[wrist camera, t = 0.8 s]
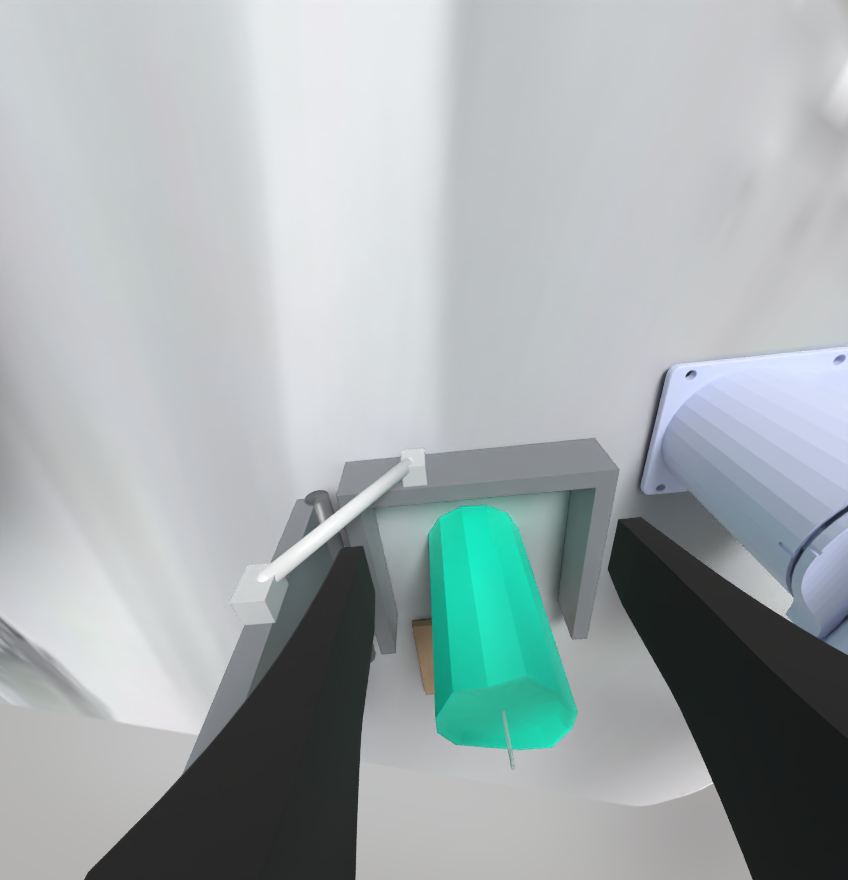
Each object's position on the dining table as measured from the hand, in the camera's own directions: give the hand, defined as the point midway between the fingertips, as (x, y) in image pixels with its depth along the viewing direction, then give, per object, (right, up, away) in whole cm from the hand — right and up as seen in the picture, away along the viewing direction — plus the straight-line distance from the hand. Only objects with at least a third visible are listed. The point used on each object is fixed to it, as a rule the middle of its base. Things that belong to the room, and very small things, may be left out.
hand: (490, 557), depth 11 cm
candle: (+1, -3, +14) cm, 15 cm away
